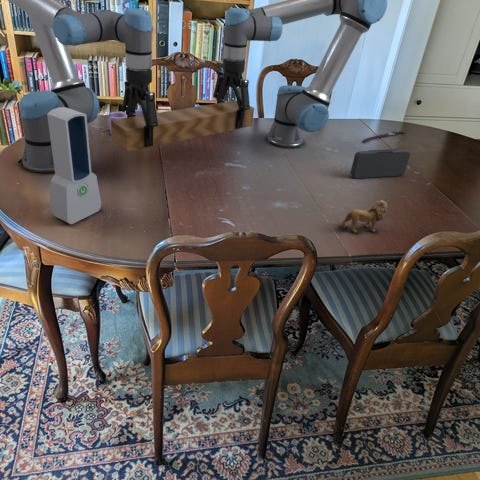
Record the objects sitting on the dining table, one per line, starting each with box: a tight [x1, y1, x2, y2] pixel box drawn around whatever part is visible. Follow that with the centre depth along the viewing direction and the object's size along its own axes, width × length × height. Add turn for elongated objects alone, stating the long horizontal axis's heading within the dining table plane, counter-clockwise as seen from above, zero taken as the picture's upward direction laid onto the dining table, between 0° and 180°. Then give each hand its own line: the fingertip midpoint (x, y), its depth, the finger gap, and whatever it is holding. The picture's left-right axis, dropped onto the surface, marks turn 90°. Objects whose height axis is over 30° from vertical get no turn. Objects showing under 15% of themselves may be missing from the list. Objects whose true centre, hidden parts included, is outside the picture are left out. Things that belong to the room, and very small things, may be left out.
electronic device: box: [47, 107, 102, 225], centre depth 126 cm, size 12×8×30 cm, turn 148°
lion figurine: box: [339, 199, 388, 234], centre depth 139 cm, size 15×5×9 cm, turn 110°
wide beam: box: [111, 99, 255, 153], centre depth 158 cm, size 51×10×7 cm, turn 130°
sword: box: [363, 130, 404, 143], centre depth 215 cm, size 31×3×1 cm, turn 126°
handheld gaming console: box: [350, 148, 411, 179], centre depth 174 cm, size 23×3×10 cm, turn 108°
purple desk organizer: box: [108, 109, 159, 135], centre depth 190 cm, size 20×12×7 cm, turn 109°
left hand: (140, 140), depth 149 cm, fingers closed on wide beam, 10 cm apart
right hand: (229, 123), depth 170 cm, fingers closed on wide beam, 10 cm apart
